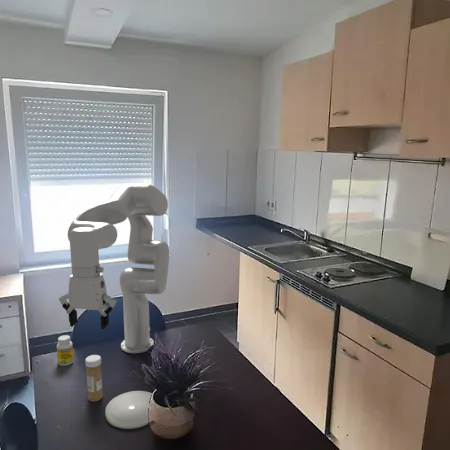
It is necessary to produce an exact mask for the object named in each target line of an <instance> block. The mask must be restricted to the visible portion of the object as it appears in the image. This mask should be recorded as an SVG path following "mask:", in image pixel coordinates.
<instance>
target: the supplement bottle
mask: <svg viewBox="0 0 450 450" xmlns="http://www.w3.org/2000/svg"><path fill="white" fill-rule="evenodd" d="M57 342H58V343H57V344H56V355H57V364H58V365H59V366H65V367H66V366H69V365H71V364H72V363H74V360H75V359H74V345H73V342H72V341H71V336H70V335H66V334H64V335H61V336H59V337H58V338H57Z"/></svg>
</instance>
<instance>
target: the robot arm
mask: <svg viewBox="0 0 450 450" xmlns="http://www.w3.org/2000/svg"><path fill="white" fill-rule="evenodd" d="M168 203H169V201H168V199H167V196H166V194H164V193H163V192H162V191H161V190H160V189H159V188H157V187H155V186H154V185H152V184H148V183H147V184H146V183H124V184H121V185H120V186H119V187H118V188H117V189H116V191H114V193H113V194H112V195H111V196H110V197H109V198H108V199H107V200H106V201H105V202H103V203H100V204H98V205H96V206H92V207H91V208H90V207H89V208H88V209H85V210H84V211H82V212H81V213H79V215H77V216H76V217H75V219H73V221H72V222H71V223H70V225H69V227H68V230H67V239H68V241H69V249H70V250H69V251H70V265H71V274H70V276H69V282H68V293H66V294H64V295H61V296H60V297H59V298H58V300H59V303H60V304H61V305H62V308H63V309H64V310H65V311H66V314H67V315H68V323H69V327H71V328H73V327H74V326H75V325H76V324H77V323H79V321H78V310H89V311H90V310H93V311H98V312H99V313H100V315H101V316H100V329H102V330H104V329H106V328H107V326H108V325H109V324H110V319H109V316H110V315H109V313H111V312H112V311H113V310H114V309H115V306H116V305H117V302H118V301H117V300H116V299H115V298H113V297H112V296H109V295H107V294H108V293H107V287H106V282H105V281H106V280H105V278H104V274H103V272H104V270H105V269H104V267H101V264H100V256H99V250H103V249H107V248H110V247H112V246H113V245H114V244H115V243H116V241H117V239H118V229H117V228H116V227H115V225H117V224H121V223H124V222H125V221H126V220H127V219H128V221H129V226H130V230H129V231H130V232H129V238H128V239H129V240H128V247H127V260H128V261H129V262H130V263H131V264H135V265H146V266H147V265H148V266H153V268H150V267H149V268H146V267H135V266H134V267H127V268H125V269H124V270H122V271H121V273H120V276H119V286H120V290H121V295H122V303H123V305H122V306H123V325H124V326H123V328H124V329H123V331H124V340H123V341H121V343H120V348H121V350H122V351H124V352H125V353H128V354H141V353H145V352H147V350H148V348H149V347H150V346H152V345H153V346H155V345H154V344H155V341H154V339H153V338H151V337H150V336H151V335H150V331H151V327H150V302H149V299H148V297H147V295H161V294H163V293H164V292H165V291H166V287H167V282H168V273H169V264H170V246H169V244H168V243H167V242H165V241H164V240H158V239H157V240H155V239H154V240H153V231H154V228H153V225H152V222H151V221H150V219H148V217H149V216H150V217H151V216H152V217H153V216H155V217H162V216H163V215H165V214H166V212H167V211H168V207H169V204H168ZM147 216H148V217H147ZM67 301H68V302H67ZM107 304H109V306H107ZM76 309H77V310H76ZM148 351H149V350H148Z"/></svg>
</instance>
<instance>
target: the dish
mask: <svg viewBox="0 0 450 450" xmlns="http://www.w3.org/2000/svg"><path fill="white" fill-rule="evenodd" d="M152 394H153V393H152V392H149V391H145V390H144V391H143V390H132V391H127V392H124V393H120V394H119V395H117V396H115V397H113V398H112V399H111V400H110V401H109V403H108V404H107V405H106V407H105V410H104V411H105V419H106V421H107V422H108V424H109V425H110V426H113V427H114V428H119V429H123V430H131V429H133V430H134V429H139V428H142V427H145V426H147V425H149V424H148V422H149V421H148V408H149V401H150V398H151V395H152Z"/></svg>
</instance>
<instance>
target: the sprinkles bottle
mask: <svg viewBox="0 0 450 450" xmlns="http://www.w3.org/2000/svg"><path fill="white" fill-rule="evenodd" d="M84 364H85V367H86V368H85V369H86V385H87V386H86V387H87V388H86V389H87V399H88V401H89V402H93V403H94V402H98V401H100V400H102V398H103V396H104V395H103V380H102V365H101V364H102V357H101V355H98V354H91V355H89V356H87V357H86V358H85V362H84Z"/></svg>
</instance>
